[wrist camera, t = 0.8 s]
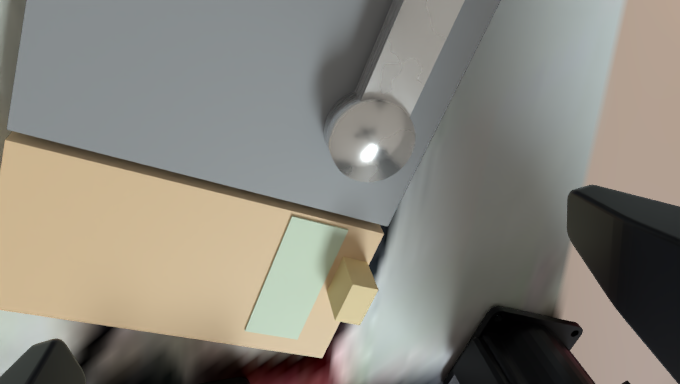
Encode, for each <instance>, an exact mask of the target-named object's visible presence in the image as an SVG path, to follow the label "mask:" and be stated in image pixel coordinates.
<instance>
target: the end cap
mask: <svg viewBox="0 0 680 384" xmlns="http://www.w3.org/2000/svg"><path fill="white" fill-rule="evenodd" d="M201 384H250V383H249V381H248V380H247V379H245V378H243V377H235V378H230V379H224V380H218V381H213V382H207V383H201Z"/></svg>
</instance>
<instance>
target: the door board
mask: <svg viewBox="0 0 680 384" xmlns="http://www.w3.org/2000/svg"><path fill="white" fill-rule="evenodd" d="M500 1H501V0H465V1H464V3H463V5H462V7H461V9H460V11H459V13H458V16H457V18H456V20H455V22H454V24H453V26H452V28H451V30H450V33H449V35H448V37H447V39H446V41H445V43H444V45H443V47H442V49H441V52H440V54H439V56H438V58H437V60H436V62H435V64H434V66H433V68H432V71H431V73H430V75H429V77H428V79H427V81H426V83H425V85H424V87H423V90H422V92H421V94H420V96H419V98H418V100H417V102H416V104H415V106H414V109H413V111H412V113H411V115H410V117H409V118H410V119H411V121H412V123H413V125H414V129H415V146H414V149H413V152H412V154H411V156H410V158H409V160H408V161H407V163H406V164H405V165H404V166H403V167H402V168H401V169H400V170H399V171H398V172H397V173H395V174H394V175H392V176H390V177H388V178H386V179H384V180H380V181H376V182H360V181H356V180H353V179H351V178H349V177H347V176H346V175H344V174H343V173H342V172H341V171H340V170H339V169H338V168H337V166H336V165H335V163H334V161H333V159H332V156H331V154H330V152H329V150H328V147H327V145H326V142H325V138H324V125H325V121H326V118H327V116H328V114H329V112H330V110H331V109H332V107H333V106H334V105H335V104H336V103H337V102H338V101H339V100H340V99H341V98H343V97H344V96H346V95H348V94H349V93H352V92H354V91H355V90H356V87H357V85H358V83H359V80H360V78H361V76H362V73H363V71H364V68H365V66H366V64H367V61H368V59H369V57H370V54H371V52H372V49H373V47H374V45H375V42H376V40H377V38H378V35H379V33H380V30H381V28H382V26H383V23H384V21H385V19H386V16H387V14H388V11H389V9H390V7H391V4H392V2H393V0H26V7H25V13H24V20H23V26H22V33H21V39H20V46H19V52H18V59H17V65H16V72H15V78H14V85H13V91H12V98H11V104H10V111H9V117H8V124H7V130H10V131H12V132H11V133H10V135H9V136H8V137H7V138H6V139H5V143H4V150H3V156H2V163H1V169H0V310H4V311H11V312H18V313H24V314H31V315H38V316H44V317H51V318H58V319H64V320H71V321H78V322H84V323H91V324H98V325H104V326H111V327H118V328H124V329H131V330H138V331H144V332H151V333H158V334H164V335H171V336H178V337H184V338H191V339H198V340H204V341H211V342H218V343H224V344H231V345H238V346H244V347H251V348H258V349H264V350H271V351H278V352H284V353H291V354H298V355H304V356H311V357H318V358H322V357H323V355H324V353H325V351H326V349H327V347H328V345H329V343H330V341H331V339H332V337H333V335H334V333H335V331H336V329H337V327H338V325H339V323H340V322H345V323H350V324H356V325H360V324H361V322H362V320H363V318H364V316H365V315H366V313H367V311H368V309H369V307H370V305H371V303H372V301H373V299H374V297H375V295H376V293H377V291H378V288H377V285H376V283H375V280H374V278H373V275H372V273H371V271H370V268H369V266H368V265H369V263H370V261H371V259H372V257H373V255H374V253H375V251H376V249H377V247H378V245H379V243H380V241H381V239H382V237H383V235H384V233H383V231H382V229H381V227H380V225H384V226H388V225H389V223H390V221H391V219H392V217H393V215H394V213H395V211H396V209H397V207H398V205H399V203H400V201H401V199H402V197H403V195H404V193H405V191H406V189H407V187H408V185H409V183H410V181H411V179H412V177H413V175H414V173H415V171H416V169H417V167H418V165H419V163H420V161H421V159H422V157H423V155H424V153H425V151H426V149H427V147H428V145H429V143H430V141H431V139H432V137H433V135H434V133H435V131H436V129H437V127H438V125H439V123H440V121H441V119H442V117H443V115H444V113H445V111H446V109H447V107H448V105H449V103H450V101H451V99H452V97H453V95H454V93H455V91H456V89H457V87H458V85H459V83H460V81H461V79H462V77H463V75H464V73H465V71H466V69H467V67H468V65H469V63H470V61H471V59H472V57H473V55H474V53H475V51H476V49H477V47H478V45H479V43H480V41H481V39H482V37H483V35H484V33H485V31H486V29H487V27H488V25H489V23H490V21H491V19H492V17H493V15H494V13H495V11H496V9H497V7H498V5H499V3H500ZM379 224H380V225H379Z"/></svg>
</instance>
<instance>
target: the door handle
mask: <svg viewBox="0 0 680 384" xmlns="http://www.w3.org/2000/svg"><path fill="white" fill-rule="evenodd" d="M464 1H465V0H393V2H392V4H391V7H390V9H389V11H388V14H387V16H386V19H385V21H384V23H383V26H382V28H381V30H380V33H379V35H378V38H377V40H376V42H375V45H374V47H373V49H372V52H371V54H370V57H369V59H368V61H367V64H366V66H365V68H364V71H363V73H362V76H361V78H360V80H359V83H358V85H357V87H356V90H355V91H354V92H352V93H349V94H348V95H346V96H344V97H343V98H341V99H340V100H339V101H338V102H337V103H336V104H335V105H334V106H333V107H332V109H331V110H330V112H329V114H328V116H327V118H326V121H325V125H324V138H325V142H326V145H327V147H328V150H329V152H330V154H331V156H332V159H333V161H334V163H335V165H336V166H337V168H338V169H339V170H340V171H341V172H342V173H343V174H344V175H346V176H347V177H349V178H351V179H353V180H356V181H360V182H376V181H380V180H384V179H386V178H388V177H390V176H392V175H394V174H395V173H397V172H398V171H399V170H400V169H401V168H402V167H403V166H404V165H405V164H406V163H407V161H408V160H409V158H410V156H411V154H412V152H413V149H414V146H415V129H414V125H413V123H412V121H411V119H410V118H409V117H410V115H411V113H412V111H413V109H414V106H415V104H416V102H417V100H418V98H419V96H420V94H421V92H422V90H423V87H424V85H425V83H426V81H427V79H428V77H429V75H430V73H431V71H432V68H433V66H434V64H435V62H436V60H437V58H438V56H439V54H440V52H441V49H442V47H443V45H444V43H445V41H446V39H447V37H448V35H449V33H450V30H451V28H452V26H453V24H454V22H455V20H456V18H457V16H458V13H459V11H460V9H461V7H462V5H463V3H464Z"/></svg>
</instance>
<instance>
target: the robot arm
mask: <svg viewBox="0 0 680 384" xmlns="http://www.w3.org/2000/svg"><path fill="white" fill-rule="evenodd" d="M567 232H568V236H569V238H570V241H571V242H572V244H573V245H574V247H575V248H576V250H577V251H578V253H579V254H580V256H581V257H582V259H583V260H584V262H585V263H586V265H587V266H588V268H589V269H590V271H591V273H592V274H593V275H594V277H595V279H596V280H597V282H598V283H599V285H600V286H601V288H602V289H603V291H604V292H605V293H606V295H607V297H608V298H609V299H610V301H611V302H612V303H613V305H614V306H615V308H616V309H617V310H618V312H619V313H620V314H621V315H622V317H623V318H624V319H625V320H626V322H627V323H628V324H629V325H630V326H631V327H632V329H633V330H634V331H635V332H636V334H637V335H638V336H639V337H640V338H641V340H642V341H643V342H644V343H645V344H646V345H647V347H648V348H649V349H650V350H651V352H652V353H653V354H654V355H655V356H656V358H657V359H658V360H659V361H660V362H661V364H662V365H663V366H664V367H665V368H666V369H667V371H668V372H669V373H670V374H671V376H672V377H673V378H674V379H675V380H676V382H677V383H678V384H680V207H679V206H675V205H671V204H667V203H663V202H659V201H655V200H651V199H648V198H644V197H639V196H636V195H631V194H627V193H624V192H620V191H616V190H612V189H608V188H604V187H600V186H596V185H589V186H585V187H581V188H578V189H574V190H572V191H571V192H570V193H569V195H568V200H567ZM497 315H498V316H497ZM582 331H583V330H582V328H581V327H580V326H579V324H577V323H576V322H571V321H567V320H562V319H557V318H553V317H548V316H543V315H538V314H534V313H529V312H524V311H520V310H515V309H510V308H506V307H501V306H496V307H493V308H492V309H490V310H489V312H488V313H487V315H486V316H485V318H484V319H483V321H482V323H481V324H480V326H479V327H478V329H477V330H476V332H475V334H474V335H473V337H472V338H471V340H470V341H469V343H468V345H467V346H466V348H465V349H464V351H463V352H462V354H461V356H460V357H459V359H458V360H457V362H456V364H455V365H454V367H453V368H452V370H451V371H450V373H449V375H448V376H447V378H446V379H445V381H444V382H443V384H595V383H594V381H593V380H592V379H591V377H590V376H589V375H588V374H587V372H586V371H585V370H584V368H583V367H582V366H581V364H580V363H579V362H578V361H577V359H576V358H575V357H574V355H573V354H572V353H571V352H570V349H571V348H572V347H573V345H574V344H575V343H576V341H577V340H578V338H579V337H580V336H581V334H582ZM0 384H86V380H85V375H84V372H83V370H82V368H81V367H80V365H79V364H78V362H77V361H76V359H75V358H74V356H73V355H72V353H71V352H70V350H69V348H68V347H67V345H66V344H65V343H64V342H63V341H62V340H60V339H52V340H48V341H45V342H41V343H38V344H35V345H33V346H31V347H30V348H29V349H28V350H27V351H26V352H25V353H24V354H23V355H22V356H21V357H20V358H19V359H18V360H17V361H16V362H15V363H14V364H13V365H12V366H11V367H10V368H9V369H8V370H7V371H6V372H5V373H4V374H3V375H2V376H1V377H0ZM622 384H630V383H629V382H628V381H625V382H624V383H622Z"/></svg>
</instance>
